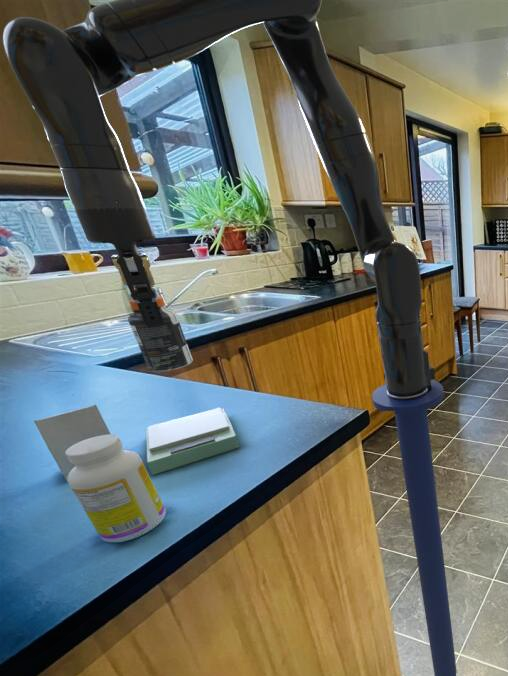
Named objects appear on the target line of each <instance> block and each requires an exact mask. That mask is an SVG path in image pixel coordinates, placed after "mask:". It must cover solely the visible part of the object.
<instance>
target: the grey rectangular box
mask: <svg viewBox="0 0 508 676" xmlns="http://www.w3.org/2000/svg"><path fill="white" fill-rule="evenodd" d="M33 423H34V424H35V427H36V428H37V430H38V432H39V434H40V436H41V438H42V439H43V442H44V444H45V445H46V447H47V450H49V452H50V454H51V456H52V458H53V460H54V462H55V463H56V465H57V467H58V468H59V470H60V472H61V474H62V475H63V477H64V479H65V481H66V482H68V480H67V478H68V474H69V473H70V471H71V470H72V469H73V468H74V467H75V465H74V464H72V463H71V462H69V460H68V458H67V456H66V454H65V452H66V450H67V449H68V448H69V447H71V446H73V445H74V444H76V443H78V442H81V441H83V440H86V439H89V438H92V437H96V436H101V435H112V433H111V432H110V430H109V428H108V426H107V423H106V422H105V420H104V418H103V416H102V414H101V412H100V409H99V408H98V406H97V404H94V405H89V406H86V407H85V406H84V407H82V408H77V409H75V410H70V411H67V412H66V411H65V412H63V413H59V414H54V415H50V416H47V417H44V418H40V419H36V420H33Z"/></svg>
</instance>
